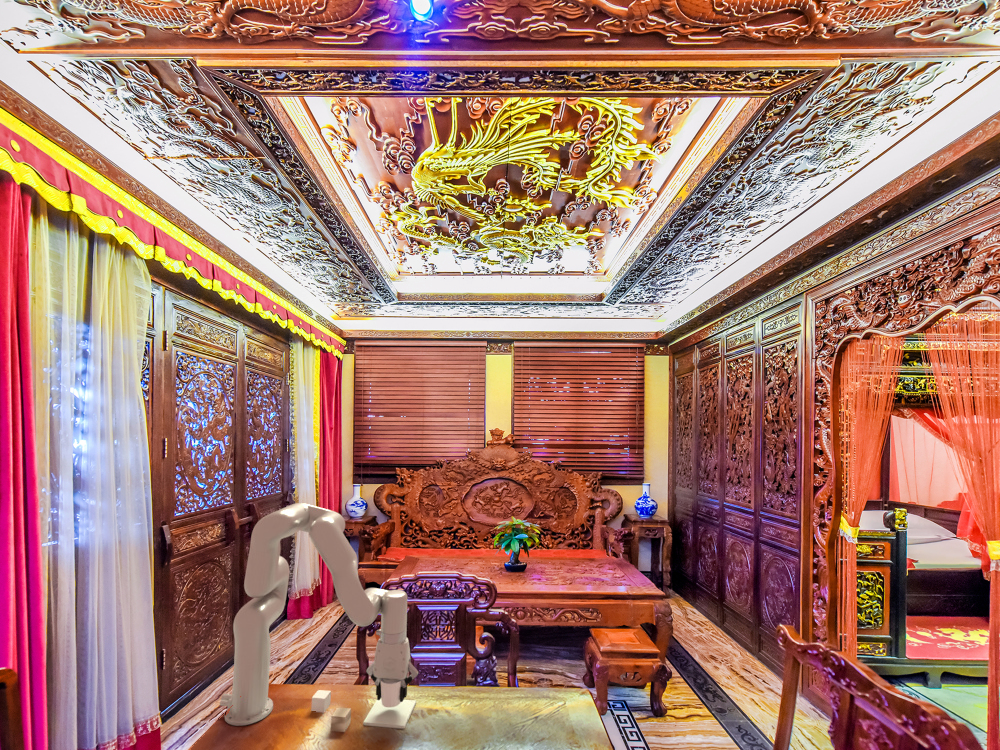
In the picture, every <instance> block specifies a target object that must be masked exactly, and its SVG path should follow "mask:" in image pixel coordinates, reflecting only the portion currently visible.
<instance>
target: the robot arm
mask: <svg viewBox="0 0 1000 750" xmlns="http://www.w3.org/2000/svg"><path fill="white" fill-rule="evenodd" d="M345 529H346V520H345V518H344V517H343V516H342V514H340V513H339V512H336V511H334V510H331V509H328V508H327V509H326V508H323V507H319V506H315V505H311V504H309V503H304V502H303V503H302V502H300V503H299V502H297V503H296V502H295V503H293V504H290V505H287V506H286V507H283V508H280V509H279V510H278V509H277V510H276V511H273V512H272V513H269V514H267V515H265V516H264V517H262V518H260V519H259V520H258V521H257V523H256V524H254V527H253V530H252V532H251V538H250V543H249V544H250V545H249V546H250V547H249V553H248V557H247V561H246V563H247V564H246V569H245V576H244V581H243V582H244V584H243V587H244V591H245V594H247V596H248V597H250V598H252V599H251V600H249V601H248V602H247V603H245V604H244V605H242V607H240V609H239V610H238V612H237V613H236V615H235V617H234V620H233V630H232V631H233V635H234V637H233V638H234V657H233V659H234V660H233V661H234V662H233V663H234V664H233V677H232V691H231V693H222V695H221V698H220V701H219V706H223V707H224V706H226V707H227V709H226V710H225V712H226V711H227V710H228V709H229V708H230V707H231V706H232V705H233V706H232V707H231V708H230V711H229V713H228V714H227V715H226V716H225V715H224V721H225V722H226V723H227V724H229V725H231V726H237V727H238V726H242V727H243V726H247V725H252V724H254V723H257V722H259V721H261V720H263V719H265V718H267V716H269V715H270V713H271V712H272V711H273V709H274V701H273V700H272V699H271V698H270V697H269V685H270V664H271V648H272V647H271V646H272V645H271V644H272V643H271V638H270V637H271V636H270V631H269V629H270V626H271V625H272V624H273V623H274V622H275V621H276V620H277V619H278V618H279V617H280V615H282V613H283V611H284V609H285V606H286V600H287V594H288V587H289V581H290V565H289V563H288V560H287V559H285V558H284V557H283V556H281V549H282V548H281V540H283V539H285V538H289V537H291V536H293V535H294V534H296V533H299V531H300V532H306V533H308V537H309V539H310V541H311V542H312V545H313V546H314V548H315V549H316V551H317V552H318V554H319V555H320V558H321V559H322V560H323V562H324V564H325V566H326V567H327V569H328V570H329V572H330V573H331V578H332V583H333V587H334V589H335V593H336V596H337V599H338V602H339V604H340V605H341V607H342V608H343V611H344V612H345V613H346V616H347V617H348V618H349V620H350V621H351V622H352V623H353V624H355V625H356V626H359V627H368V626H369V625H371V624H372V623H373V622H374V621H375V620H376V619H377V617H378V615H381V617H380V618H381V620H380V629H377V630H376V632H375V634H376V636H378V637H379V638H378V640H377V642H376V646H375V647H376V648H375V652H374V653H375V654H374V661H373V663H371V664H370V665H369V666H368V667H367V669H366V673H367V674H368V676H370V679H371V680H372V681H373V682H374V685H375V695H376V696H377V697H376V700H380V699H381V683H380V679H381V678H383V679H396V680H400V681H401V684H402V687H401V688H400V702H403V700H405V698H407V696H408V685H409V684H410V683H411V682H412V681H413V680H414V679H415V678H416V677H418V674H419V671H418V669H417V668H416V667H415V666H414V665H413V663H412V662H411V649H410V641H409V638H408V637H407V631H408V630H407V628H408V627H407V626H408V623H407V622H408V594H407V592H405V591H404V590H402V589H392V590H389V589H382V588H377V587H368V588H366V589H364V587H363V586H362V583H361V581H360V578H359V573H358V571H359V569H358V566H359V565H358V563H359V562H358V560H359V559H358V555H357V553H356V551H355V550H354V548H353V547H352V545H351V544H350V542H349V540H348V539H347V538H346V536H345V533H344V531H345ZM409 672H410V673H411V674H409V676H408V673H409ZM240 696H241V697H240Z"/></svg>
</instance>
